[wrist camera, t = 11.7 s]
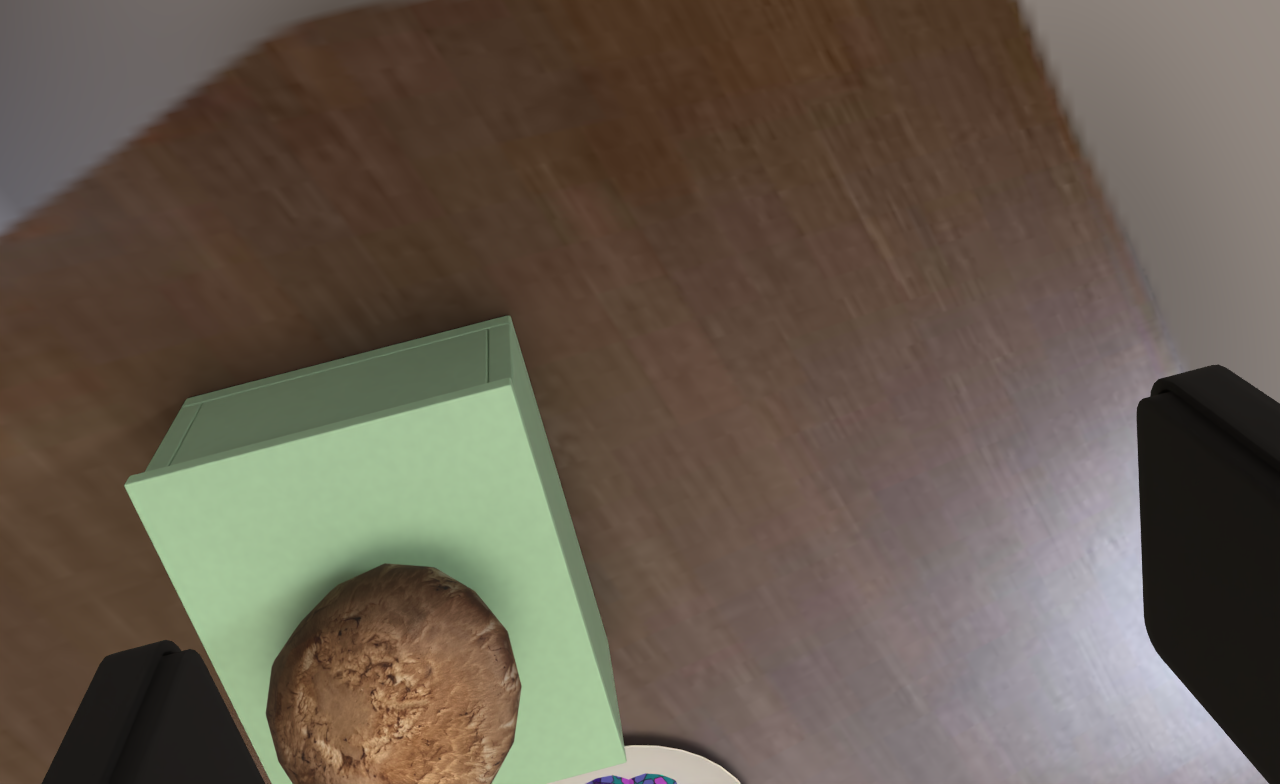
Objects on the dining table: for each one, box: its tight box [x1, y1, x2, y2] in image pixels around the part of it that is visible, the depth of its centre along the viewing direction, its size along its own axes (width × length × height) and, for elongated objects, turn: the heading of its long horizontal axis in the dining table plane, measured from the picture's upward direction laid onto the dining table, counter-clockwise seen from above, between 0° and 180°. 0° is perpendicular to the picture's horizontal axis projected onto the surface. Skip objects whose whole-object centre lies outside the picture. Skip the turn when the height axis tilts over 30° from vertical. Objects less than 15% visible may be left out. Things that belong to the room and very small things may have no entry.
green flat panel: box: [124, 378, 627, 784], centre depth 36 cm, size 15×12×1 cm
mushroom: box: [266, 563, 522, 784], centre depth 34 cm, size 8×8×6 cm
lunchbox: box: [145, 316, 624, 745], centre depth 40 cm, size 15×12×6 cm
